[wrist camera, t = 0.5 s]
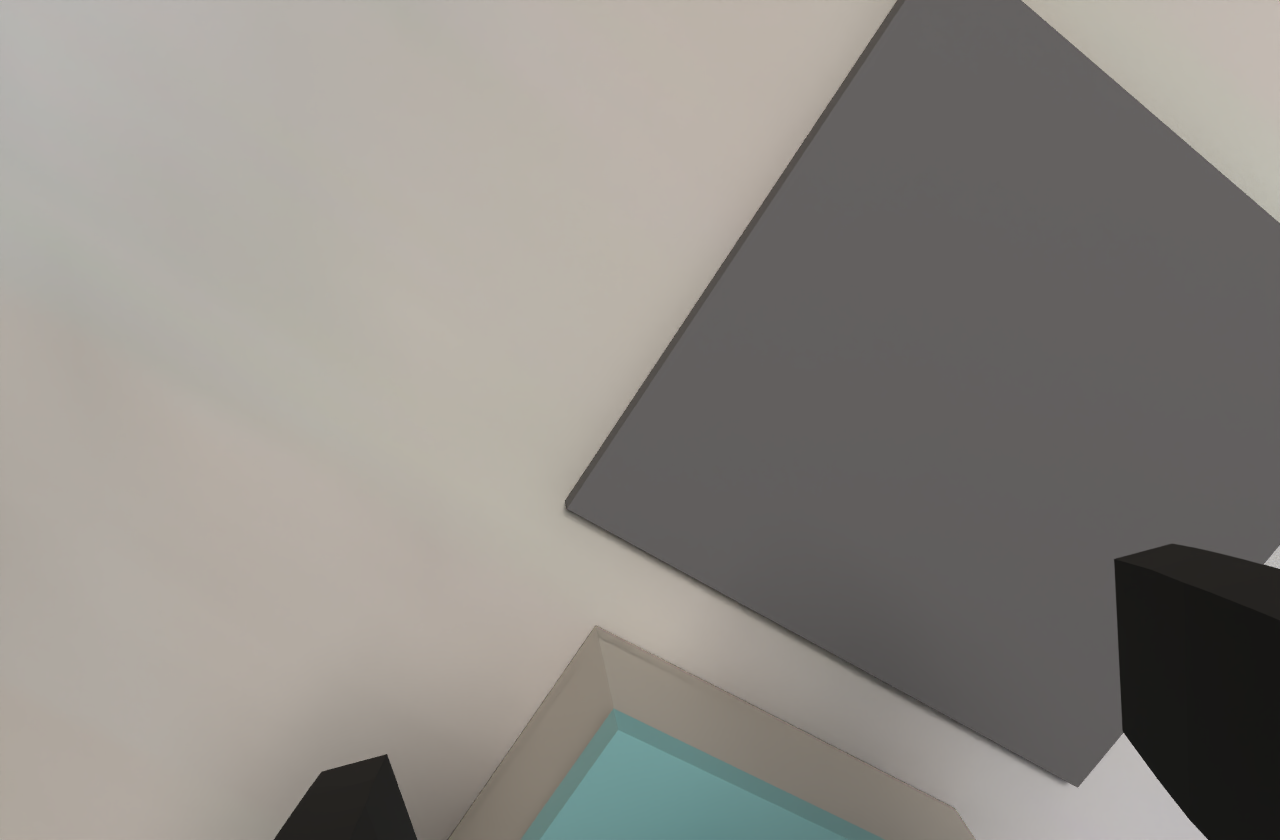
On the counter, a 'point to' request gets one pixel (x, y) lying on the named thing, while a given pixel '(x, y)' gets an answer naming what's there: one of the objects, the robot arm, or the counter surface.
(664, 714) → the tub
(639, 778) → the lid
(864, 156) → the mat
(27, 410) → the counter surface
